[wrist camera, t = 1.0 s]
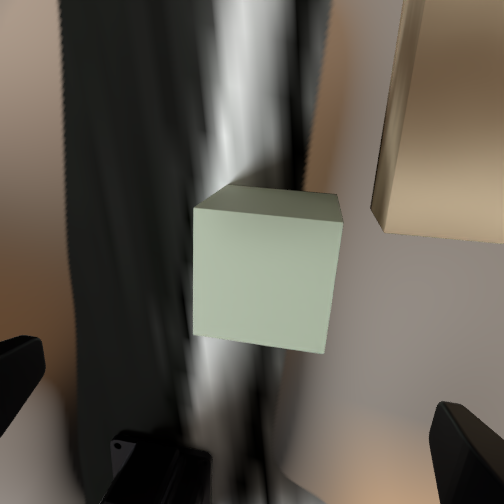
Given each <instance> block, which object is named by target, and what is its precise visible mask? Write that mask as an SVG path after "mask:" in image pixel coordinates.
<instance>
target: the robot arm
mask: <svg viewBox="0 0 504 504" xmlns="http://www.w3.org/2000/svg"><path fill="white" fill-rule="evenodd" d="M45 368H46V365H45V359H44V351H43V346H42V341H41V340H40V339H39V338H37V337H33V336H27V335H21V336H18V337H14V338H11V339H8V340H5V341H1V342H0V437H1V436H2V435H3V434H4V432H5V431H6V429H7V428H8V427H9V425H10V424H11V422H12V421H13V419H14V418H15V417H16V415H17V414H18V412H19V411H20V409H21V408H22V406H23V405H24V403H25V402H26V401H27V399H28V398H29V396H30V395H31V393H32V392H33V390H34V389H35V387H36V386H37V385H38V383H39V382H40V380H41V378H42V377H43V375H44V373H45ZM429 445H430V451H431V456H432V461H433V467H434V472H435V478H436V483H437V489H438V494H439V499H440V504H504V440H503V439H502V438H501V437H500V436H499V435H498V434H496V433H495V432H494V431H493V430H492V429H490V428H489V427H488V426H487V425H485V424H484V423H483V422H482V421H481V420H480V419H479V418H477V417H476V416H475V415H474V414H473V413H471V412H470V411H469V410H468V409H467V408H465V407H464V406H463V405H461V404H457V403H450V402H445V401H442V402H439V404H438V405H437V407H436V411H435V414H434V418H433V421H432V425H431V428H430V432H429ZM110 447H111V458H112V468H113V479H114V480H113V481H112V483H111V485H110V487H109V488H108V490H107V492H106V494H105V495H104V497H103V499H102V500H101V502H100V504H211V496H212V462H213V459H212V456H211V454H210V453H208V452H206V451H201V450H196V449H191V448H186V447H180V446H175V445H170V444H165V443H160V442H155V441H149V440H144V439H139V438H134V437H129V436H124V435H116V436H115V437H114V438H113V439H112V441H111V443H110Z"/></svg>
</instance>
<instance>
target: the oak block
mask: <svg viewBox="0 0 504 504" xmlns="http://www.w3.org/2000/svg"><path fill="white" fill-rule="evenodd" d="M370 209H371V211H372V213H373V214H374V216H375V218H376V219H377V221H378V223H379V225H380V226H381V228H382V230H383V232H384V233H391V234H402V235H412V236H423V237H434V238H445V239H457V240H467V241H478V242H488V243H500V244H504V0H403V4H402V10H401V17H400V23H399V30H398V36H397V42H396V48H395V55H394V61H393V67H392V73H391V80H390V86H389V92H388V98H387V105H386V111H385V117H384V124H383V130H382V136H381V142H380V150H379V155H378V162H377V168H376V174H375V181H374V186H373V193H372V199H371V205H370Z"/></svg>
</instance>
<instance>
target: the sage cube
mask: <svg viewBox="0 0 504 504" xmlns="http://www.w3.org/2000/svg"><path fill="white" fill-rule="evenodd" d="M343 223H344V222H343V218H342V214H341V209H340V205H339V201H338V197H337V194H330V193H318V192H307V191H292V190H281V189H270V188H259V187H248V186H236V185H226V186H225V187H223V188H222V189H220V190H219V191H217V192H216V193H214V194H213V195H212V196H210V197H209V198H207V199H206V200H204V201H203V202H201V203H200V204H198V205H197V206H195V207H194V232H193V335H198V336H205V337H212V338H218V339H225V340H232V341H239V342H245V343H252V344H259V345H265V346H272V347H279V348H285V349H292V350H299V351H306V352H312V353H319V354H324V352H325V345H326V338H327V331H328V324H329V317H330V311H331V304H332V298H333V291H334V284H335V277H336V270H337V264H338V257H339V250H340V243H341V236H342V230H343Z"/></svg>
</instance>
